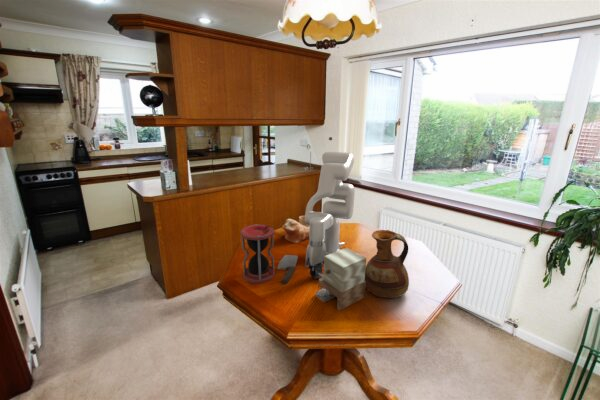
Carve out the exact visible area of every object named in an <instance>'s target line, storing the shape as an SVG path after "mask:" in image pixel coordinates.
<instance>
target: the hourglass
mask: <svg viewBox="0 0 600 400" xmlns="http://www.w3.org/2000/svg"><path fill="white" fill-rule="evenodd" d="M274 233H275V230H274V228H273V227H272V226H270V225H269V224H268V225H267V224H263V223H258V224H250V225H247V226H245V227H243V228H242V229H241V231H240V236H241V244H242V245H241V247H242V250H243V251H244V252H245V257H243V262H242V264H243V266H242V267H243V273H242V274H243V278H244V280H245V281H246V282H249V283H251V284H262V283H266V282H269V281H270V280H272V279H273V278H274V277H275V272H276V271H275V264H274V263H275V259H274V256H273V255H272V252H271V250H272V249H273V247H274V235H275V234H274ZM269 238H270V247H269V248H268V250H267V254H268V256H269V257H270V259H271V265H270V262H269V259H268V258H267V256H265V255H264V253H262V252H263V251H264V250H265V249H266V247H268V245H269ZM245 240H246V244H247V246H248V248H250V250H252V252H254V253H255V254H254V255H252V257H251V258H250V259H249V261H248V267H247V266H246V263H247V262H246V260H247V259H248V258H249V255H250V253H249V250H247V249H246V247H245V245H246V244H245Z"/></svg>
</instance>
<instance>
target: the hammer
mask: <svg viewBox="0 0 600 400" xmlns="http://www.w3.org/2000/svg"><path fill="white" fill-rule="evenodd" d="M311 267H312V266H311ZM314 270H315V277H312V278H313V279H315V280H316V279H318V280H319V279H321V278H323V277H324V274H321V273H323V267H322V264H321V263H318V264H316V265H315V267H314Z"/></svg>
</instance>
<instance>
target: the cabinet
mask: <svg viewBox="0 0 600 400" xmlns="http://www.w3.org/2000/svg"><path fill="white" fill-rule="evenodd" d="M366 265H367V257H366V256H364V255H363V254H360V253H358V252H356V251H354V250H352V249H350V248H348V247H345V248H342V249H341V250H340V251H337V252H334V253H331V254H329V255H326V256H324V264H323V276H324V277H323V278H321V279H319V278H318V285H319V286H321V287H322V289H323V288H325V289H326V290H327V291H329V292H330V293H332V294H333V295H334V297H336V298H337V301H336V302H337V303H336V309H337V310H338V311H341V310H343V309H345V308H347V307H349V306H351V305H352V304H354V303H356V302H358V301H360V300H362V299H364V298H365V297H366V289H367V288H366V282H365V270H366Z"/></svg>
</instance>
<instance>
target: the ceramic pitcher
mask: <svg viewBox="0 0 600 400" xmlns="http://www.w3.org/2000/svg"><path fill="white" fill-rule="evenodd" d="M371 237H372V238H373V239H374V240H375V241H376V245H375V246H376V249H377V251H376V254H375V255H373V256H372V257H371V258H370V259H369V261H368V262H366V270H365V282H366V288H365V289H367V291H368V292H369V293H371V294H373V296H377V297H379V298H391V299H392V298H394V299H395V298H399V297H400V296H401V297H402V295H403V296H404V294H406V293H407V291H408V290H409V286H410V285H409V284H410V279H409V273H408V270H407V267H406V266H405V265H404V262H405V260H406V258H407V256H408V254H409V244H408V242H407V240H406V239H405V237H404V236H403V235H401V234H400V233H397V232H395V231H393V230H389V229H386V230H385V229H379V230H378V229H377V230H375V231H373V232H372V233H371ZM393 241H400V242H402V243H403V249H402V251H401V253H400V255H399V256H396V255H394V254H393V252H392V242H393Z"/></svg>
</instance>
